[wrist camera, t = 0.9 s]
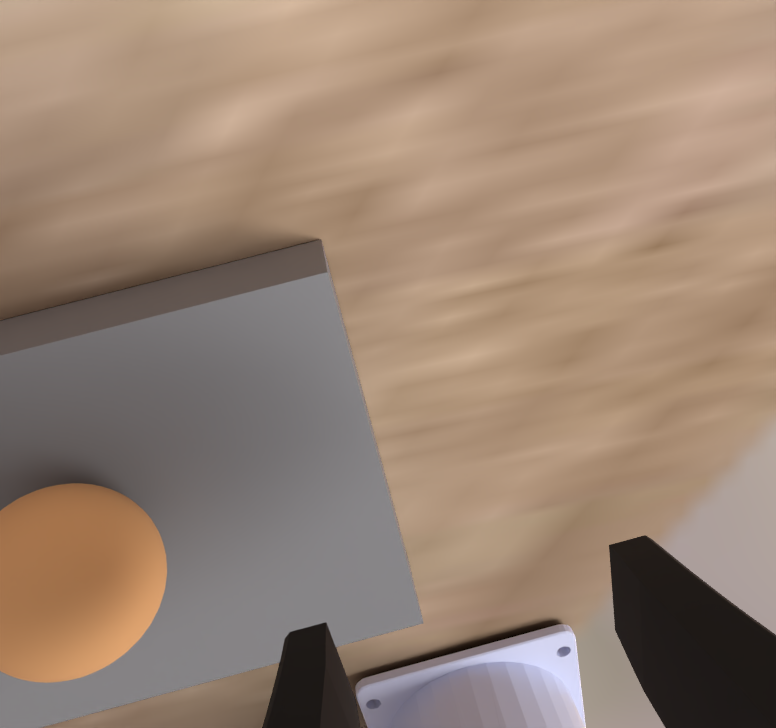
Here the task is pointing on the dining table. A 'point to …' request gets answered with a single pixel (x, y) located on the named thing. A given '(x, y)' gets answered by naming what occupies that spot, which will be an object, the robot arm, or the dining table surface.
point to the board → (210, 467)
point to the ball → (75, 581)
